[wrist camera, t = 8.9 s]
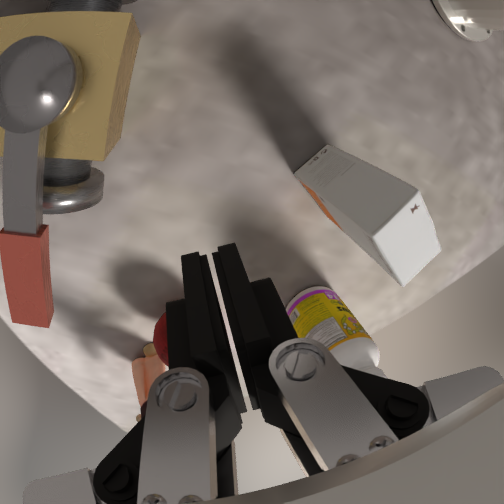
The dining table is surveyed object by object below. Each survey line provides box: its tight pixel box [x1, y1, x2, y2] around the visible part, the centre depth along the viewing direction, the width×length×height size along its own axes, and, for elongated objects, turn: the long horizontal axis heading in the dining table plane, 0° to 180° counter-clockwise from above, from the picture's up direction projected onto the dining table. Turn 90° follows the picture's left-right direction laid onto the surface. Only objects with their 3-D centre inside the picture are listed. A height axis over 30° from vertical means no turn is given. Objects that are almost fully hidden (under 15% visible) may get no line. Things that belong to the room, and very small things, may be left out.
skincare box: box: [294, 144, 441, 287], centre depth 24 cm, size 6×4×12 cm
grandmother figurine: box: [132, 343, 165, 422], centre depth 28 cm, size 8×4×13 cm, turn 153°
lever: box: [0, 36, 83, 328], centre depth 13 cm, size 16×5×2 cm, turn 165°
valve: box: [0, 0, 141, 214], centre depth 15 cm, size 15×8×8 cm, turn 166°
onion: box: [153, 312, 169, 367], centre depth 28 cm, size 6×6×8 cm
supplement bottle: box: [286, 286, 388, 379], centre depth 30 cm, size 7×7×13 cm
